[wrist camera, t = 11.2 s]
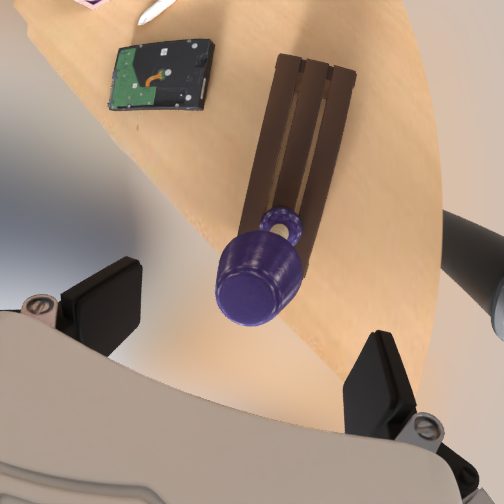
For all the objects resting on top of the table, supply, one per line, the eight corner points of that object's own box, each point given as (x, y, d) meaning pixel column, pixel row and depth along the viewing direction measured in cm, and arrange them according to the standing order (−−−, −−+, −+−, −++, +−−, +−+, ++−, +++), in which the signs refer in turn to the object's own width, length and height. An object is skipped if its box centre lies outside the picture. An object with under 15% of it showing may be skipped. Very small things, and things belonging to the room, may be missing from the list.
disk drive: (216, 44, 31) (127, 52, 33) (210, 36, 28) (117, 47, 30) (205, 111, 34) (115, 113, 36) (198, 108, 32) (105, 111, 34)
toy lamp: (246, 223, 29) (177, 297, 13) (279, 190, 27) (245, 227, 11) (280, 257, 29) (251, 363, 13) (314, 226, 27) (326, 308, 12)
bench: (345, 92, 30) (358, 71, 22) (304, 254, 38) (304, 280, 29) (284, 77, 31) (277, 52, 23) (246, 238, 39) (230, 260, 30)
